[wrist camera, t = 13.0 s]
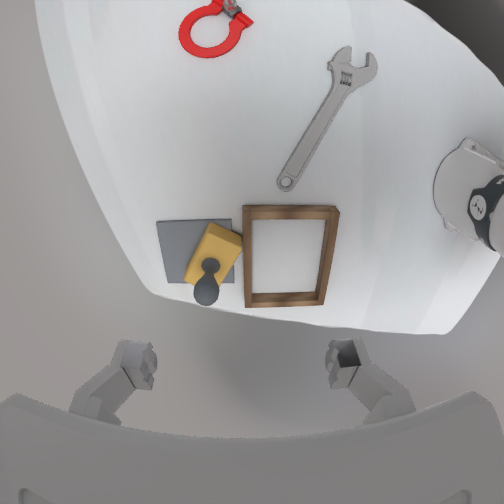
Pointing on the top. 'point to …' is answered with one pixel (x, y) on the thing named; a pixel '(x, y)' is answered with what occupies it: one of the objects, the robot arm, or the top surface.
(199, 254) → the rubber stamp
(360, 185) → the top surface
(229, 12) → the tow hook
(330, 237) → the wooden frame
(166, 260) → the slate mat
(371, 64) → the adjustable wrench
